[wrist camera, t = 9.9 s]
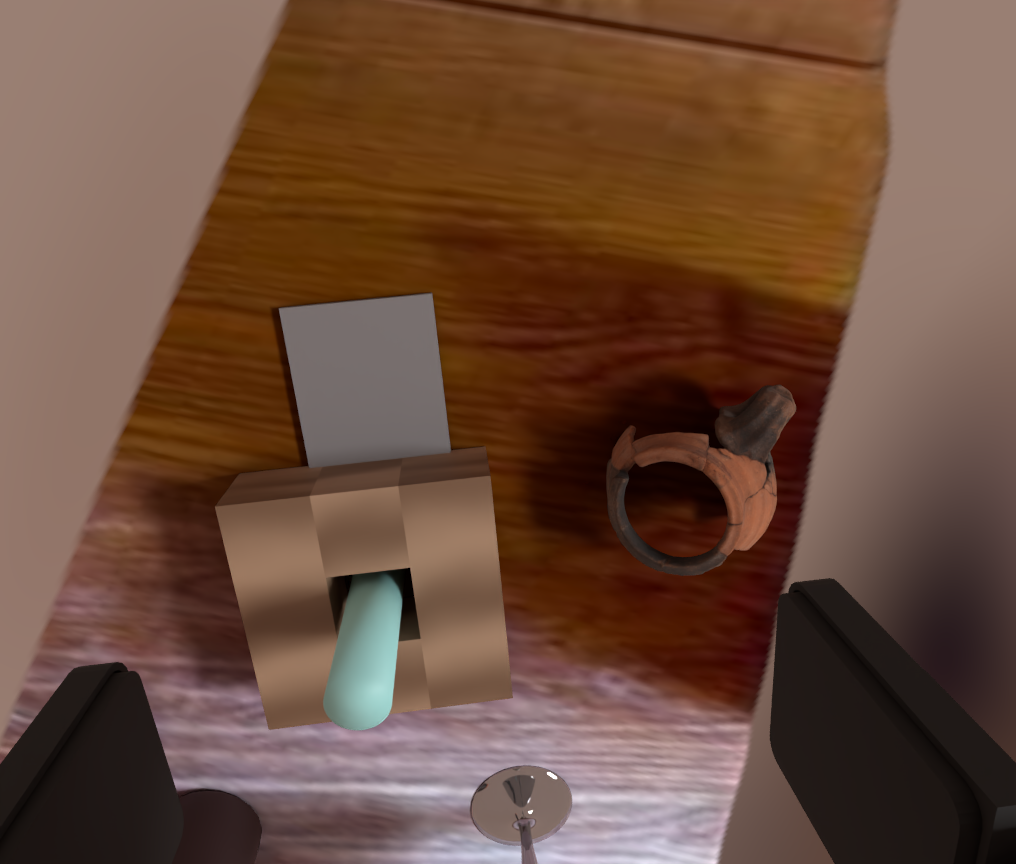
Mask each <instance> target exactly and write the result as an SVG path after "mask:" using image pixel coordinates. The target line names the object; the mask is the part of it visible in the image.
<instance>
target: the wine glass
mask: <svg viewBox="0 0 1016 864" xmlns="http://www.w3.org/2000/svg"><path fill="white" fill-rule="evenodd" d="M571 808H572V795H571V792H570V789H569V787H568V785H567V784H566V783H565V781H564V780H563V779H562V778H561V777H559V776H558V775H557V774H556V773H554V772H552V771H550V770H547V769H544V768H541V767H535V766H518V767H512V768H509V769H505V770H503V771H500V772H498V773H496V774H494V775H493V776H491V777H490V778H488V779H487V780H486V781H485V782H484V783H483V784H482V785H481V786H480V787H479V788H478V790H477V792H476V793H475V795H474V798H473V801H472V806H471V812H472V818H473V821H474V823H475V825H476V826H477V828H478V829H479V831H480V832H481V833H482V834H483V835H485V836H486V837H488V838H489V839H491V840H493V841H495V842H498V843H501V844H504V845H512V846H521V853H522V864H538V863H537V859H536V855H535V851H534V847H533V843H537V842H540V841H542V840H544V839H547V838H548V837H550V836H552V835H553V834H554V833H556V832H557V831H558V830H559V829H560V828H561V827H562V826H563V825H564V824H565V822H566V820H567V819H568V817H569V814H570V812H571Z"/></svg>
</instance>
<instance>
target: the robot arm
mask: <svg viewBox="0 0 1016 864" xmlns="http://www.w3.org/2000/svg"><path fill="white" fill-rule="evenodd" d="M770 741H771V747H772V751H773V754H774V757H775V759H776V761H777V763H778V765H779V767H780V769H781V771H782V772H783V774H784V776H785V778H786V779H787V781H788V783H789V784H790V786H791V788H792V790H793V792H794V793H795V795H796V797H797V798H798V800H799V802H800V804H801V806H802V807H803V809H804V811H805V812H806V814H807V816H808V818H809V819H810V821H811V823H812V825H813V827H814V828H815V830H816V832H817V834H818V835H819V837H820V839H821V841H822V842H823V844H824V846H825V847H826V849H827V851H828V853H829V855H830V856H831V858H832V860H833V862H834V863H835V864H1016V763H1015V762H1014V761H1013V760H1012V759H1011V757H1009V755H1008V754H1007V753H1006V752H1005V751H1003V749H1002V748H1001V747H1000V746H999V745H998V744H997V743H996V742H995V741H994V740H993V739H992V738H991V737H990V736H989V735H988V734H987V733H986V732H985V731H984V730H983V729H982V728H981V727H980V726H979V725H978V724H977V723H976V722H975V721H974V720H973V719H972V718H971V717H970V716H969V715H968V714H967V713H966V712H965V710H964V709H963V708H962V707H961V706H960V705H959V704H958V703H957V702H956V701H955V700H954V699H953V698H952V697H951V696H950V695H949V694H948V693H947V692H946V691H945V690H944V689H943V688H942V687H941V686H940V685H939V684H938V683H937V682H936V681H935V680H934V679H933V678H932V677H931V676H930V675H929V674H928V673H927V672H926V671H925V670H924V669H922V668H921V667H920V666H919V665H918V664H917V663H916V662H915V661H914V660H913V659H912V658H911V657H910V655H908V653H907V652H906V651H905V650H904V649H903V648H902V647H901V646H900V645H899V644H898V643H897V642H896V641H895V640H894V639H893V638H892V637H891V636H890V635H889V634H888V633H887V632H886V631H885V630H884V629H883V628H882V627H881V626H880V625H879V624H878V623H877V622H876V621H875V620H874V619H873V618H872V617H871V616H870V615H869V613H867V611H866V610H865V609H864V608H863V607H862V606H861V605H860V604H859V603H858V602H857V601H856V600H855V599H854V598H853V597H852V596H851V595H850V594H849V593H848V592H847V591H846V590H845V589H844V588H843V587H842V586H841V585H840V584H839V583H838V582H837V581H835V580H834V579H830V578H829V579H819V580H812V581H803V582H795V583H793V584H791V587H790V588H789V592H788V593H786V594H782V595H781V596H780V598H779V602H778V615H777V631H776V646H775V662H774V677H773V693H772V708H771V724H770ZM183 827H184V815H183V810H182V807H181V804H180V800H179V797H178V794H177V791H176V788H175V785H174V782H173V778H172V775H171V772H170V769H169V766H168V763H167V759H166V756H165V753H164V750H163V747H162V744H161V741H160V737H159V734H158V731H157V728H156V725H155V722H154V719H153V715H152V712H151V709H150V706H149V703H148V700H147V697H146V693H145V690H144V687H143V684H142V681H141V678H140V676H139V674H138V673H137V672H135V671H128V670H127V667H126V666H125V665H124V664H123V663H119V662H115V663H106V664H98V665H89V666H81V667H77V668H74V669H73V670H72V671H71V672H70V673H69V674H68V675H67V677H66V678H65V679H64V681H63V682H62V683H61V685H60V686H59V687H58V689H57V690H56V691H55V693H54V694H53V695H52V697H51V698H50V699H49V701H48V702H47V703H46V705H45V706H44V707H43V708H42V710H41V711H40V712H39V714H38V715H37V716H36V718H35V719H34V720H33V722H32V723H31V724H30V726H29V727H28V728H27V730H26V731H25V732H24V734H23V735H22V736H21V738H20V739H19V740H18V742H17V743H16V744H15V746H14V747H13V748H12V749H11V751H10V752H9V753H8V755H7V756H6V757H5V759H4V760H3V761H2V763H1V764H0V864H172V861H173V859H174V856H175V854H176V851H177V849H178V846H179V844H180V841H181V838H182V834H183Z"/></svg>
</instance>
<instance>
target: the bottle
mask: <svg viewBox="0 0 1016 864" xmlns="http://www.w3.org/2000/svg"><path fill="white" fill-rule="evenodd" d="M179 800H180V804H181V807H182V810H183V815H184V827H183V834H182V838H181V841H180V844H179V846H178V849H177V851H176V854H175V856H174V859H173V861H172V864H254V862H255V858H256V855H257V851H258V848H259V844H260V838H261V832H262V829H261V825H260V821H259V817H258V816H257V814H256V813H255V812H254V810H253V809H252V808H251V806H250V805H248V804H247V803H245V802H244V801H243V800H241V799H240V798H238V797H236V796H233V795H230V794H227V793H225V792H217V791H200V792H193V793H189V794H187V795H185V796H182V797H180V798H179Z"/></svg>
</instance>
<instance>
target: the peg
mask: <svg viewBox="0 0 1016 864" xmlns="http://www.w3.org/2000/svg"><path fill="white" fill-rule="evenodd" d="M405 569H406V568H403V569H395V570H386V571H378V572H370V573H361V574H353V576H352V581H351V585H350V589H349V593H348V597H347V602H346V606H345V610H344V614H343V618H342V623H341V627H340V631H339V635H338V640H337V644H336V648H335V652H334V656H333V661H332V665H331V669H330V673H329V677H328V682H327V686H326V690H325V694H324V699H323V706H324V710H325V712H326V714H327V716H328V717H329V718H330V720H331V721H333V722H334V723H335V724H337V725H338V726H340V727H343V728H345V729H350V730H365V729H369V728H372V727H375V726H377V725H378V724H380V723H381V722H383V721H384V720H385V719H386V717H387V716H388V714H389V713H390V710H391V707H392V699H393V689H394V679H395V669H396V659H397V649H398V639H399V629H400V619H401V609H402V599H403V589H404V579H405Z"/></svg>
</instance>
